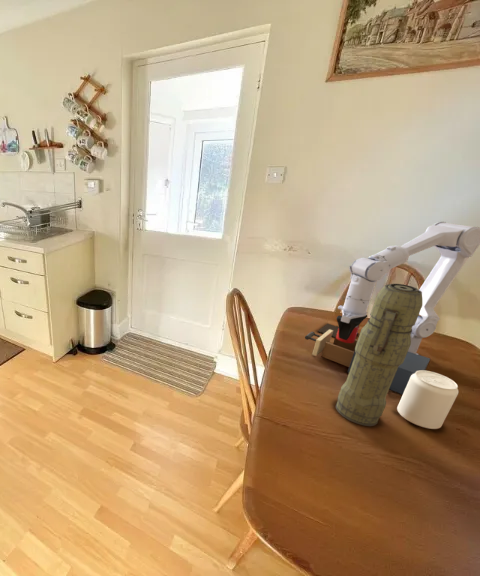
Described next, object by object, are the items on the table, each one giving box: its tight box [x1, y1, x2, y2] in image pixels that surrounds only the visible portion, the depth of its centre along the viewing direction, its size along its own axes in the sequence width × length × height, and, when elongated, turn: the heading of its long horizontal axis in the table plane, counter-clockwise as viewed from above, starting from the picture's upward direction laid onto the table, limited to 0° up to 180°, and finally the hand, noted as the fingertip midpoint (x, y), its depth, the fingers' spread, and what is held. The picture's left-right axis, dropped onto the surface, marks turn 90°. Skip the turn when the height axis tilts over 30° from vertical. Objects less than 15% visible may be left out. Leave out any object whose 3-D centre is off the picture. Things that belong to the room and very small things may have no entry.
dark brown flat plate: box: [317, 323, 359, 339], centre depth 119 cm, size 10×10×1 cm
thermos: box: [335, 283, 422, 427], centre depth 74 cm, size 9×12×35 cm
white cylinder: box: [396, 370, 459, 430], centre depth 77 cm, size 8×8×12 cm
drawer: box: [304, 329, 358, 368], centre depth 103 cm, size 18×11×6 cm, turn 37°
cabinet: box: [347, 351, 431, 395], centre depth 93 cm, size 15×13×8 cm
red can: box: [336, 325, 360, 343], centre depth 100 cm, size 5×5×6 cm
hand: (346, 336), depth 100 cm, fingers closed on red can, 5 cm apart
